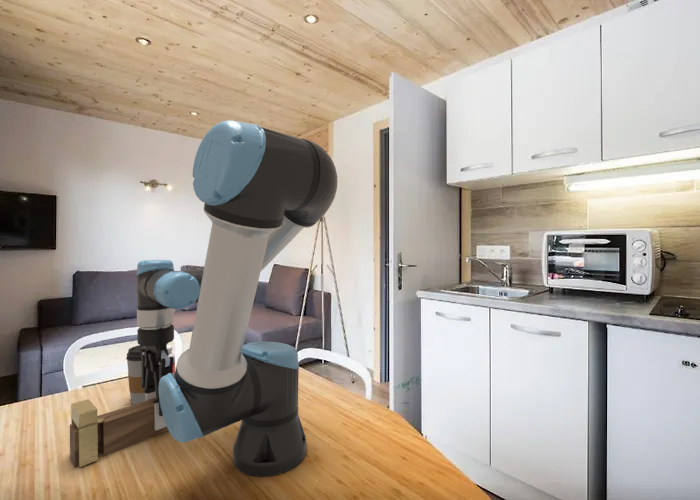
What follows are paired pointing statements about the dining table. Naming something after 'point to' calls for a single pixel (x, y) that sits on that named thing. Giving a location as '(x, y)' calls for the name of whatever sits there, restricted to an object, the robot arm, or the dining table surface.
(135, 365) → the coffee cup
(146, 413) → the tong arm
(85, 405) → the lock collar
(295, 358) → the robot arm
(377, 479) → the dining table surface
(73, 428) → the base
